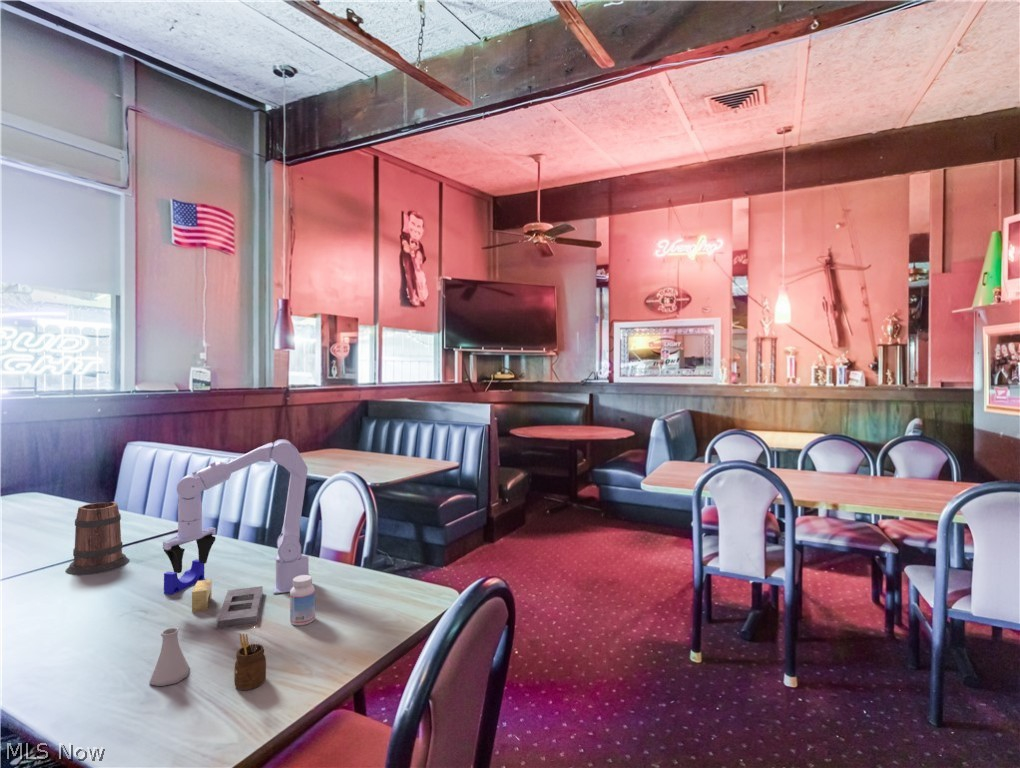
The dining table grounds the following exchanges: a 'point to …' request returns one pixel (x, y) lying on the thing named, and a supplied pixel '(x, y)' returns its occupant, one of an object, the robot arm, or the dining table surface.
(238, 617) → the gray rectangular plate
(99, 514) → the tankard
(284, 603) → the dining table surface
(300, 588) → the pill bottle
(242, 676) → the utensil holder
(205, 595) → the wooden toy block
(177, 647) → the flask
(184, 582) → the cable clip
